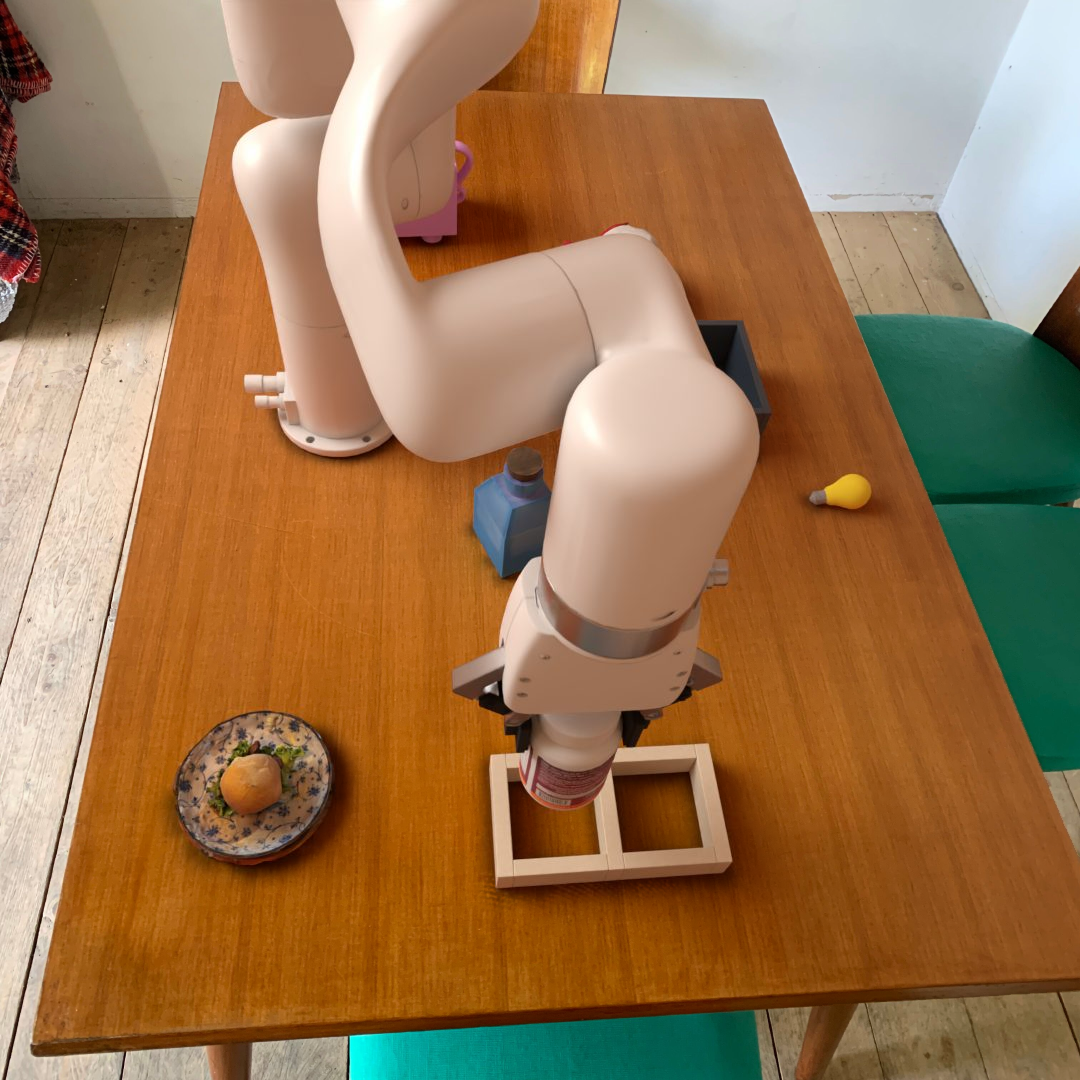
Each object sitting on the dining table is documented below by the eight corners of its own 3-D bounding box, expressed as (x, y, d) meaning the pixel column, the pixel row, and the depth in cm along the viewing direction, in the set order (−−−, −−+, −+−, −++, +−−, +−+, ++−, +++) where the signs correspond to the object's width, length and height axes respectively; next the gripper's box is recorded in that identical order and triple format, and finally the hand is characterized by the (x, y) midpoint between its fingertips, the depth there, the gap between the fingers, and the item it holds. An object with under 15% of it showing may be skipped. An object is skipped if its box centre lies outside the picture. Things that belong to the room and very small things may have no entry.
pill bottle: (622, 784, 64) (653, 714, 55) (549, 830, 61) (568, 765, 52) (572, 714, 67) (594, 636, 57) (500, 755, 64) (511, 681, 55)
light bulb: (871, 509, 93) (877, 498, 90) (811, 520, 94) (815, 509, 91) (863, 478, 94) (869, 466, 91) (804, 489, 95) (808, 477, 92)
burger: (336, 713, 76) (326, 672, 70) (335, 858, 69) (323, 826, 63) (185, 725, 74) (161, 684, 68) (169, 874, 68) (141, 843, 62)
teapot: (467, 195, 118) (469, 101, 108) (477, 244, 113) (479, 150, 103) (309, 200, 115) (295, 103, 105) (310, 251, 110) (296, 154, 99)
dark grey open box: (627, 458, 95) (637, 414, 89) (610, 365, 102) (618, 319, 97) (754, 456, 96) (772, 413, 91) (728, 364, 104) (743, 319, 99)
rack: (496, 888, 69) (497, 877, 66) (489, 768, 74) (490, 754, 72) (723, 873, 71) (732, 861, 68) (700, 757, 76) (708, 743, 74)
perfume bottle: (501, 578, 85) (508, 498, 75) (473, 528, 88) (475, 446, 78) (560, 555, 87) (574, 475, 77) (530, 508, 90) (540, 424, 80)
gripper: (774, 513, 47) (694, 669, 62) (433, 519, 45) (435, 679, 59) (810, 644, 43) (715, 778, 57) (436, 657, 41) (437, 793, 55)
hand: (573, 727), depth 58 cm, fingers closed on pill bottle, 6 cm apart
